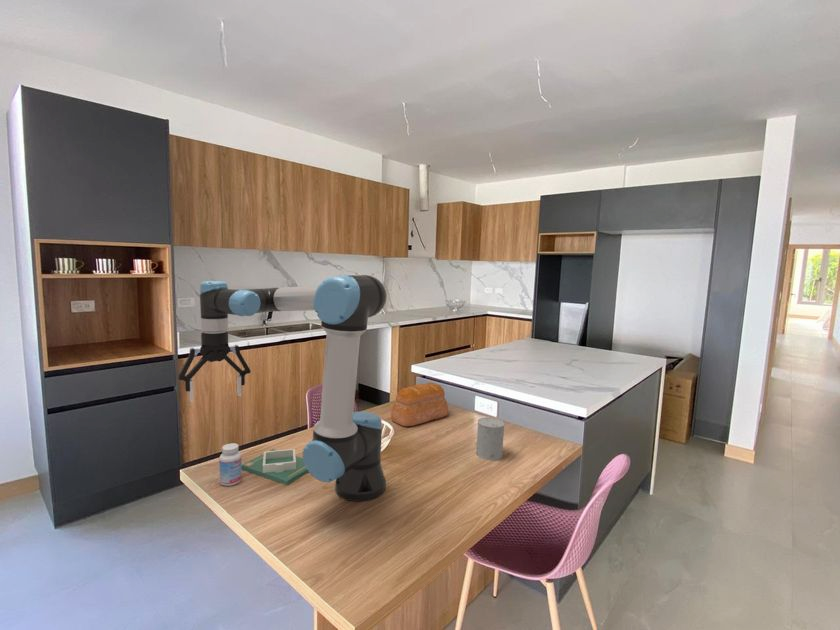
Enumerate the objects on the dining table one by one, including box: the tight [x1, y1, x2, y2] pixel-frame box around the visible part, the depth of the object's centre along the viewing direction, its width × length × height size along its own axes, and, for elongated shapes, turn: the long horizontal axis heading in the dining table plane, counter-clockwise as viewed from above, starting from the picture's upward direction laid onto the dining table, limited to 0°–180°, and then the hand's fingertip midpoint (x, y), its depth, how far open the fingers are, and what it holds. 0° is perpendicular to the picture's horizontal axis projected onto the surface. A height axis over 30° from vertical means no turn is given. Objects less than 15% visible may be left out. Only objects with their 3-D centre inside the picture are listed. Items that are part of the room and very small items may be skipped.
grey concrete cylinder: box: [475, 417, 505, 461], centre depth 154 cm, size 10×10×12 cm
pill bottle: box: [218, 442, 243, 487], centre depth 129 cm, size 6×6×11 cm
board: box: [241, 448, 309, 486], centre depth 139 cm, size 20×14×4 cm
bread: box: [390, 382, 449, 427], centre depth 188 cm, size 14×26×15 cm, turn 131°
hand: (216, 398), depth 133 cm, fingers open, 13 cm apart
